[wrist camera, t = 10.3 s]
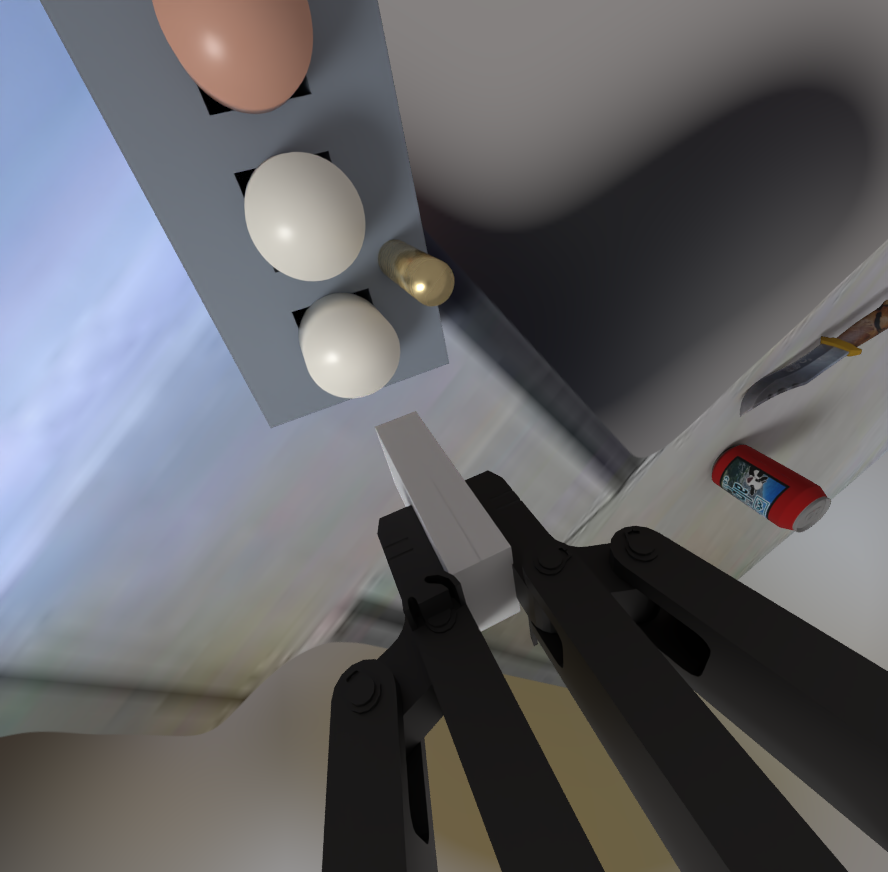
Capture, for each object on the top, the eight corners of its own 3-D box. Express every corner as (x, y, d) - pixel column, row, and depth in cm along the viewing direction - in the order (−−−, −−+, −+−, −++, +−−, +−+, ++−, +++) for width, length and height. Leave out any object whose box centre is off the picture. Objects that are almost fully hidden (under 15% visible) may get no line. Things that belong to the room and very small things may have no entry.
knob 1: (212, 132, 22) (200, 120, 15) (155, -4, 19) (111, -88, 12) (306, 111, 23) (332, 93, 16) (266, -21, 20) (278, -107, 13)
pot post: (383, 282, 24) (417, 312, 19) (373, 245, 23) (407, 267, 18) (415, 272, 24) (457, 299, 20) (407, 235, 23) (450, 254, 18)
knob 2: (267, 261, 26) (275, 295, 19) (226, 165, 23) (221, 168, 16) (345, 239, 27) (378, 264, 20) (316, 144, 24) (345, 139, 17)
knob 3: (307, 356, 30) (325, 410, 23) (277, 286, 27) (288, 325, 20) (374, 334, 31) (409, 380, 24) (353, 263, 28) (386, 294, 21)
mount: (266, 387, 30) (270, 428, 26) (50, -35, 18) (-17, -104, 13) (419, 334, 33) (449, 363, 28) (324, -71, 20) (349, -140, 16)
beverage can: (708, 456, 58) (797, 512, 49) (747, 433, 59) (842, 484, 50) (705, 487, 63) (786, 545, 53) (741, 465, 63) (827, 518, 54)
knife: (722, 411, 54) (759, 431, 50) (721, 404, 53) (759, 423, 49) (878, 295, 54) (927, 305, 50) (880, 286, 53) (930, 296, 49)
